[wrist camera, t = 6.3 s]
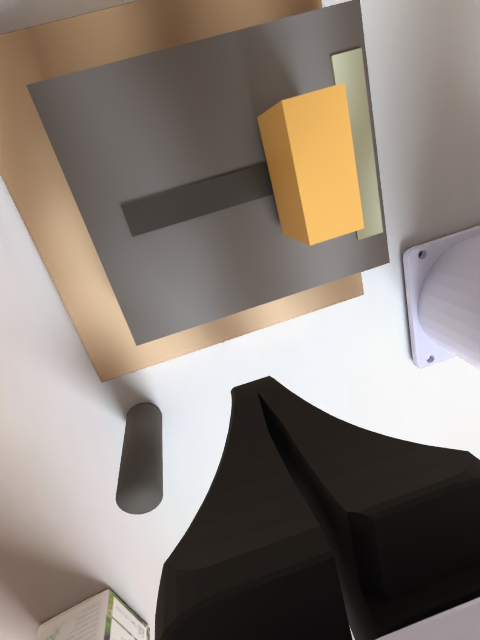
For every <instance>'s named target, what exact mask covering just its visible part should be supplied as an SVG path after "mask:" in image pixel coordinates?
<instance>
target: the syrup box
mask: <svg viewBox="0 0 480 640" xmlns="http://www.w3.org/2000/svg"><path fill="white" fill-rule="evenodd" d="M35 640H150V628H149V627H148V626H147V625H146V624H145V623H144V622H143V621H142V620H141V619H140V618H139V617H138V616H137V615H136V614H135V613H134V612H133V611H132V610H131V609H130V608H129V607H128V606H126V605H125V604H124V603H123V602H122V601H121V600H120V599H119V598H118V597H117V596H116V595H115V594H114V593H113V592H112V591H111V590H109V589H108V590H105V591H103V592H101V593H99V594H96V595H94V596H92V597H90V598H88V599H86V600H85V601H83V602H81V603H79V604H77V605H75V606H73V607H72V608H70V609H68V610H66V611H64V612H62V613H61V614H59V615H57V616H55V617H54V618H52V619H50V620H48V621H46V622H45V623H43V624H41V625H40V627H39V628H38V631H37V635H36V639H35Z"/></svg>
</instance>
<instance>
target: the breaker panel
mask: <svg viewBox="0 0 480 640" xmlns="http://www.w3.org/2000/svg"><path fill="white" fill-rule="evenodd" d="M342 83H345V89H346V96H347V103H348V111H349V118H350V125H351V133H352V140H353V148H354V155H355V162H356V170H357V177H358V184H359V192H360V199H361V207H362V214H363V221H364V229H361V230H358V231H354V232H351V233H348V234H345V235H342V236H339V237H336V238H332V239H329V240H326V241H323V242H320V243H317V244H314V245H311V246H310V245H307V244H305V243H302V242H300V241H297V240H295V239H293V238H290V237H288V236H285V235H283V233H282V228H281V224H280V219H279V215H278V210H277V205H276V201H275V196H274V192H273V187H272V183H271V178H270V174H269V169H268V165H267V160H266V156H265V151H264V147H263V142H262V138H261V133H260V129H259V124H258V120H257V117H258V116H259V115H261V114H262V113H264V112H265V111H267V110H268V109H270V108H271V107H273V106H274V105H276V104H277V103H279V102H280V101H281V100H285V99H288V98H292V97H295V96H299V95H303V94H306V93H310V92H313V91H317V90H321V89H324V88H328V87H331V86H335V85H338V84H342ZM0 174H1V176H2V178H3V180H4V182H5V185H6V187H7V189H8V191H9V193H10V195H11V197H12V199H13V201H14V203H15V205H16V207H17V209H18V211H19V213H20V215H21V218H22V220H23V222H24V224H25V226H26V228H27V230H28V232H29V234H30V236H31V238H32V240H33V242H34V244H35V246H36V248H37V251H38V253H39V255H40V257H41V259H42V261H43V263H44V265H45V267H46V269H47V271H48V273H49V275H50V277H51V279H52V281H53V284H54V286H55V288H56V290H57V292H58V294H59V296H60V298H61V300H62V302H63V304H64V306H65V308H66V310H67V312H68V314H69V317H70V319H71V321H72V323H73V325H74V327H75V329H76V331H77V333H78V335H79V337H80V339H81V341H82V343H83V345H84V347H85V350H86V352H87V354H88V356H89V358H90V360H91V362H92V364H93V366H94V368H95V370H96V372H97V374H98V376H99V378H100V380H101V382H105V381H108V380H111V379H114V378H117V377H120V376H123V375H126V374H129V373H132V372H135V371H138V370H141V369H144V368H147V367H150V366H153V365H156V364H159V363H162V362H165V361H168V360H170V359H173V358H176V357H179V356H182V355H185V354H188V353H191V352H194V351H197V350H200V349H203V348H206V347H209V346H212V345H215V344H218V343H221V342H224V341H227V340H230V339H233V338H236V337H239V336H242V335H245V334H248V333H251V332H254V331H257V330H260V329H263V328H266V327H269V326H272V325H275V324H278V323H281V322H283V321H286V320H289V319H292V318H295V317H298V316H301V315H304V314H307V313H310V312H313V311H316V310H319V309H322V308H325V307H328V306H331V305H334V304H337V303H340V302H343V301H346V300H349V299H352V298H355V297H358V296H361V295H364V291H363V284H362V277H361V272H362V271H366V270H369V269H372V268H375V267H378V266H381V265H384V264H387V263H390V262H389V253H388V244H387V235H386V227H385V218H384V209H383V200H382V191H381V183H380V174H379V165H378V156H377V147H376V139H375V130H374V121H373V112H372V103H371V94H370V86H369V77H368V68H367V59H366V50H365V42H364V33H363V24H362V15H361V6H360V0H352V1H348V2H344V3H340V4H336V5H332V6H329V7H325V8H322V3H321V0H140V1H136V2H131V3H127V4H123V5H119V6H115V7H111V8H107V9H103V10H99V11H95V12H91V13H87V14H83V15H79V16H74V17H70V18H66V19H62V20H58V21H54V22H50V23H46V24H42V25H38V26H34V27H30V28H26V29H22V30H17V31H13V32H9V33H5V34H1V35H0Z"/></svg>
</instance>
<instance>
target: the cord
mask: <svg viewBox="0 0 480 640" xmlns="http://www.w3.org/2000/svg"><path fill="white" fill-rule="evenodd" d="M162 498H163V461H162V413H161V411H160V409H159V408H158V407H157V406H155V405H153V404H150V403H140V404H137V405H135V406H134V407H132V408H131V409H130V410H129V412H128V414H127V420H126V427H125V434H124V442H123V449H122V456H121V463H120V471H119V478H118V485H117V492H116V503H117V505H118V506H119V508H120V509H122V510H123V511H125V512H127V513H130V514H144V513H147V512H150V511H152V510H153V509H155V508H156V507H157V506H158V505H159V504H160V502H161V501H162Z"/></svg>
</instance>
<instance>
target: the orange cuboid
mask: <svg viewBox="0 0 480 640" xmlns="http://www.w3.org/2000/svg"><path fill="white" fill-rule="evenodd" d="M257 120H258V124H259V129H260V133H261V138H262V142H263V147H264V151H265V156H266V160H267V165H268V169H269V174H270V178H271V183H272V187H273V192H274V196H275V201H276V205H277V210H278V215H279V219H280V224H281V228H282V233H283V235H285V236H288V237H290V238H293V239H295V240H297V241H300V242H302V243H305V244H307V245H310V246H311V245H314V244H317V243H320V242H323V241H326V240H329V239H332V238H336V237H339V236H342V235H345V234H348V233H351V232H354V231H358V230H361V229H364V221H363V214H362V207H361V199H360V192H359V184H358V177H357V170H356V162H355V155H354V148H353V140H352V133H351V125H350V118H349V111H348V103H347V96H346V89H345V83H342V84H338V85H335V86H331V87H328V88H324V89H321V90H317V91H313V92H310V93H306V94H303V95H299V96H295V97H292V98H288V99H285V100H281V101H280V102H279V103H277V104H276V105H274V106H273V107H271V108H270V109H268V110H267V111H265V112H264V113H262V114H261V115H259V116H258V117H257Z"/></svg>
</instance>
